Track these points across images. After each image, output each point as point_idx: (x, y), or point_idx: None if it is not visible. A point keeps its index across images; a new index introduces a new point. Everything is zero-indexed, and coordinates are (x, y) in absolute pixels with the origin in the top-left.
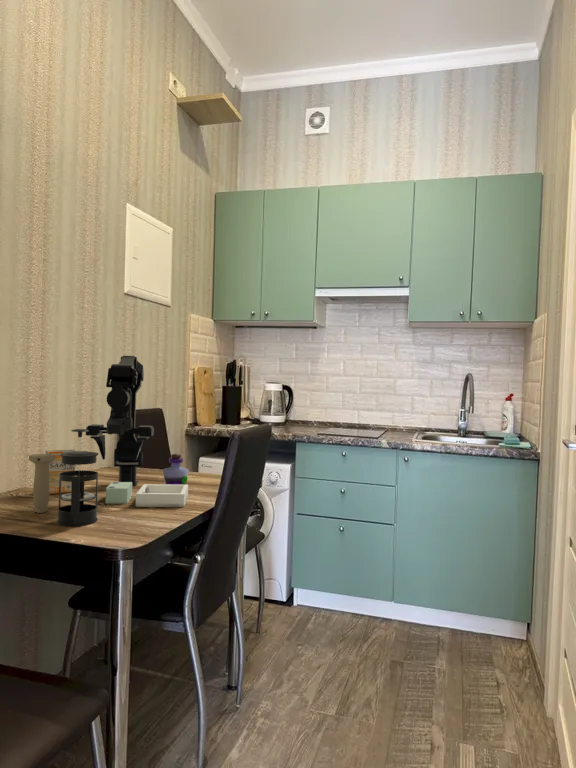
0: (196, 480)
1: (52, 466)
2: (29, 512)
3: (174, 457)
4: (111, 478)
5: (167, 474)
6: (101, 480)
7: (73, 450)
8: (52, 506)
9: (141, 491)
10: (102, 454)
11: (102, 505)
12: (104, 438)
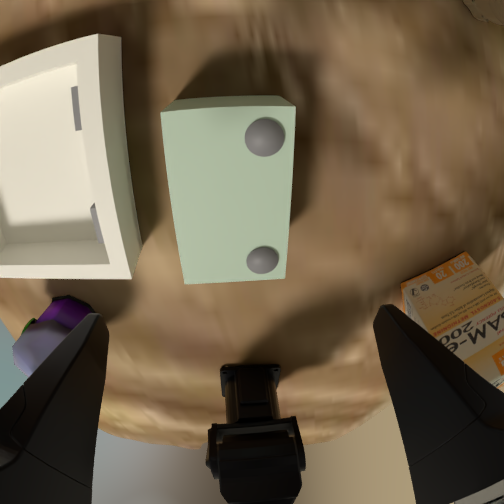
0: None
1: (502, 315)
2: None
3: None
4: (298, 409)
5: None
6: (320, 395)
7: None
8: (462, 73)
9: (82, 102)
10: (415, 330)
11: (286, 53)
12: (422, 486)
